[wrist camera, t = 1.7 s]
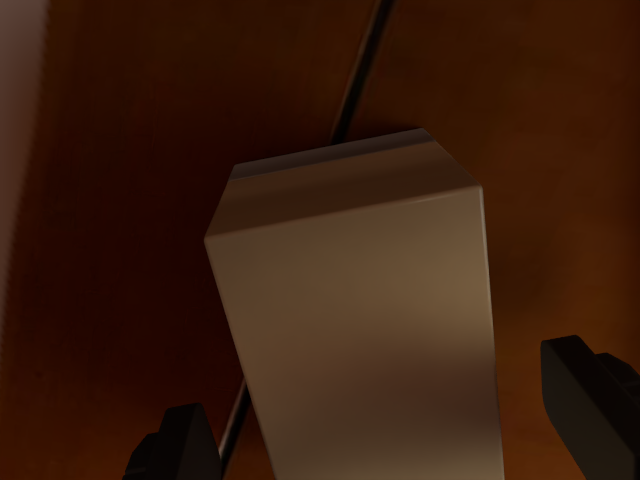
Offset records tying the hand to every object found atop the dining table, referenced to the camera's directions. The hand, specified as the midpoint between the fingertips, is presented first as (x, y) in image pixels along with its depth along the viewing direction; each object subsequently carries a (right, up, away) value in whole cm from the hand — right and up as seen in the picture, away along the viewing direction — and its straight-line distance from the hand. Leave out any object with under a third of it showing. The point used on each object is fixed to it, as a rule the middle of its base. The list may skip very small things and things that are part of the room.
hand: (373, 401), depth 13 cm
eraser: (0, +2, +3) cm, 4 cm away
